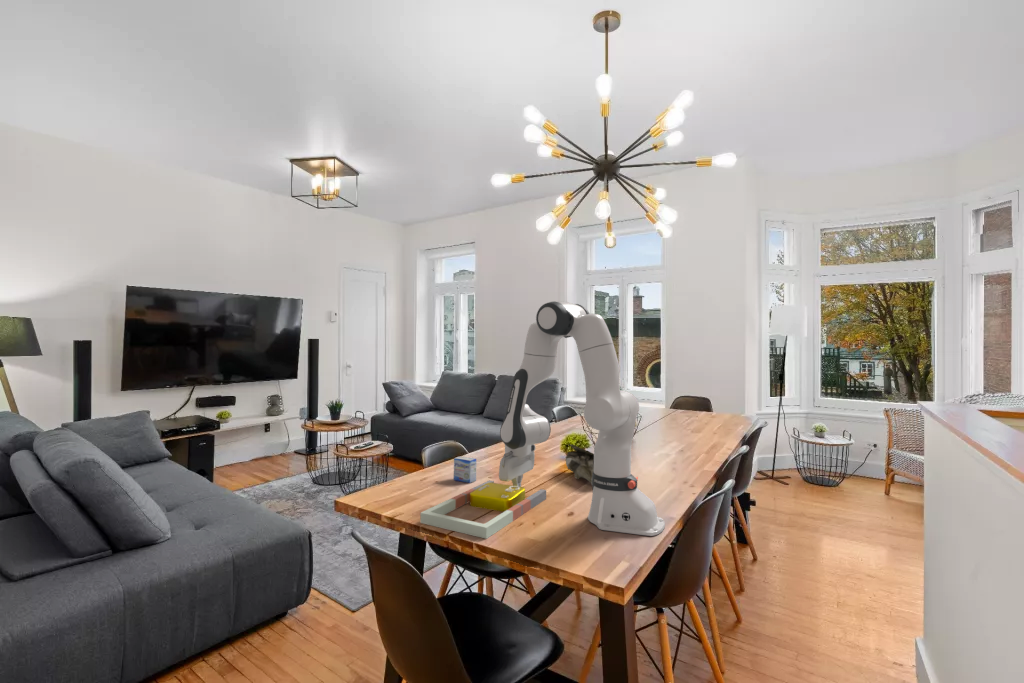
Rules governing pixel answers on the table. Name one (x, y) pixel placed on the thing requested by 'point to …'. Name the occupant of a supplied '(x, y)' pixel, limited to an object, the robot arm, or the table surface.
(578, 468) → the hollow geode rock
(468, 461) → the medicine box
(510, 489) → the element tile
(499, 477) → the robot arm
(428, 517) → the trap track
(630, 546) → the table surface
